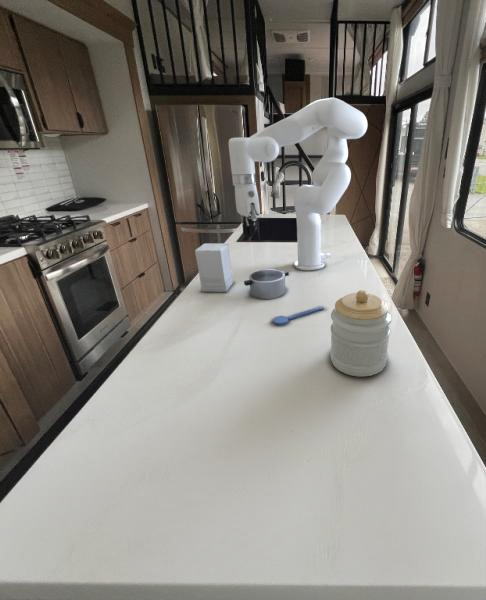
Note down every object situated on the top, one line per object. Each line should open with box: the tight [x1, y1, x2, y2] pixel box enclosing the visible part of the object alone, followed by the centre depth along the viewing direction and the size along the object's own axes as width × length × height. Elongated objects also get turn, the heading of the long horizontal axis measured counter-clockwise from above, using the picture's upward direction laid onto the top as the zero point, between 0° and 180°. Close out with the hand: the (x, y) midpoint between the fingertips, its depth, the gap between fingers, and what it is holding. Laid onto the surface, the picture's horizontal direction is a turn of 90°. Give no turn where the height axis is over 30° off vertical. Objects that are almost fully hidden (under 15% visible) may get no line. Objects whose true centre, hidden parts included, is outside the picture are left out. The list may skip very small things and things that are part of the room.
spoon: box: [273, 306, 324, 326], centre depth 95 cm, size 16×4×1 cm, turn 122°
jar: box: [329, 289, 393, 377], centre depth 71 cm, size 13×13×18 cm
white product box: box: [194, 242, 234, 293], centre depth 113 cm, size 9×9×15 cm
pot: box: [243, 268, 290, 300], centre depth 110 cm, size 16×12×6 cm
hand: (249, 235), depth 113 cm, fingers closed
